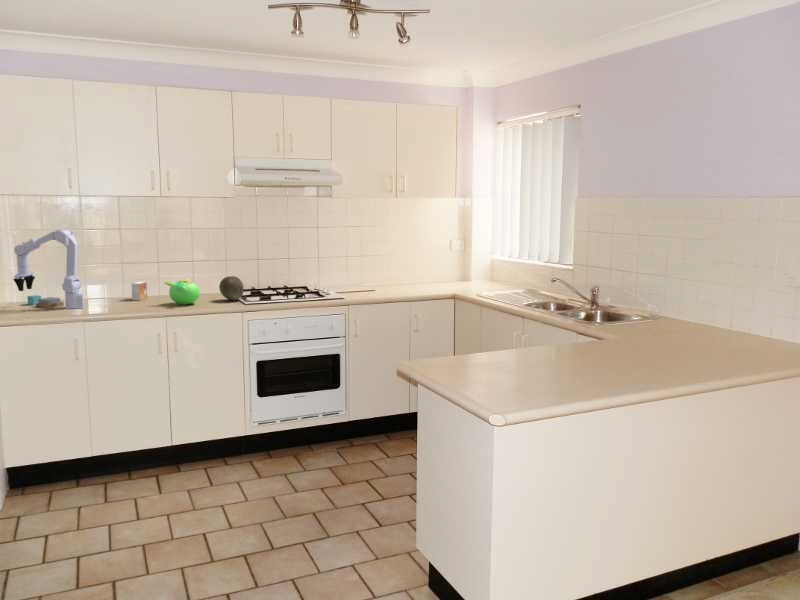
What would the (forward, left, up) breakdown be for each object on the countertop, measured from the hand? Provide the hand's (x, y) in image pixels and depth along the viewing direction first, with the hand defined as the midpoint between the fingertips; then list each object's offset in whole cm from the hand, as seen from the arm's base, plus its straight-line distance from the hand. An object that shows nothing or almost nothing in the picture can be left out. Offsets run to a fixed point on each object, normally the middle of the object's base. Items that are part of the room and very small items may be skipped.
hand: (25, 290), depth 385 cm
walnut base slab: (-12, 0, -10) cm, 16 cm away
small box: (-60, -11, -10) cm, 62 cm away
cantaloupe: (-113, +8, -10) cm, 114 cm away
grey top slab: (-12, 0, -8) cm, 14 cm away
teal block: (-3, -9, -10) cm, 14 cm away
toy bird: (-85, +14, -10) cm, 87 cm away
